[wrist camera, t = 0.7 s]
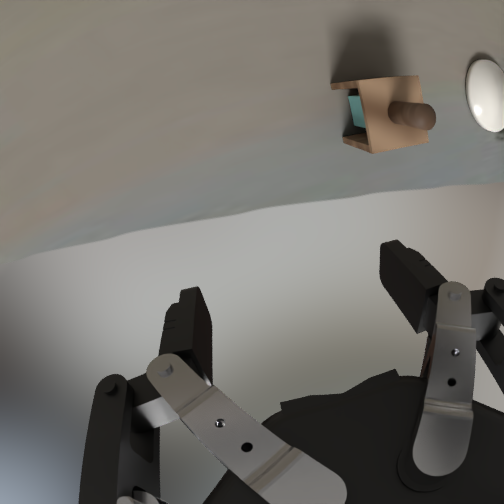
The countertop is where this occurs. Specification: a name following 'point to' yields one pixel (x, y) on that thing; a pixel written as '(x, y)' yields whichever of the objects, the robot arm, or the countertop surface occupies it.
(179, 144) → the countertop surface
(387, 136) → the brown forked piece
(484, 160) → the countertop surface
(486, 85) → the saucer
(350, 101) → the block
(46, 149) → the countertop surface
